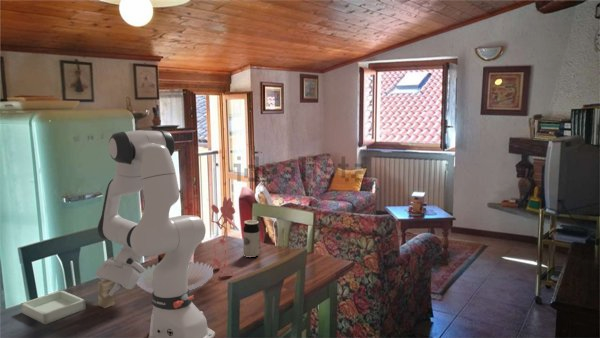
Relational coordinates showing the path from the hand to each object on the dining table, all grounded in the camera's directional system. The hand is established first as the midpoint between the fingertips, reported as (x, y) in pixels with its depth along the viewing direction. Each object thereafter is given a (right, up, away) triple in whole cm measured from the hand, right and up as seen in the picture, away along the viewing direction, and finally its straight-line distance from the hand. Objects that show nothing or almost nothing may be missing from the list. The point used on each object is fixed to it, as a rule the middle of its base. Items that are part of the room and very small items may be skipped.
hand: (104, 293), depth 171 cm
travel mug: (+49, +2, +61) cm, 78 cm away
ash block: (0, -5, +1) cm, 5 cm away
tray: (-17, -5, -5) cm, 18 cm away
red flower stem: (+41, -1, +39) cm, 56 cm away
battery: (+10, 0, +42) cm, 43 cm away
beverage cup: (+21, 0, +41) cm, 46 cm away
